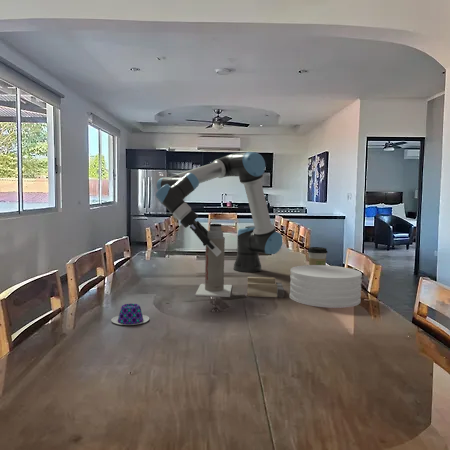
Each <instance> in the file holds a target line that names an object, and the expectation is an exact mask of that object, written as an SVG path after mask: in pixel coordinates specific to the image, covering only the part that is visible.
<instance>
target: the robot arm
mask: <svg viewBox="0 0 450 450" xmlns="http://www.w3.org/2000/svg"><path fill="white" fill-rule="evenodd" d="M265 171H266V161H265V159H264V157H263V156H262V154H260V153H258V152H256V151H246V152H236V153H235V152H234V153H230V154H227V155H225V156H222V157H220V158H217V159H215V160H213V161H212V162H211V163H208V164H205V165H202V166H199V167H196V168H193V169H189V170H186V171H183V172H180V173H177V174H174V175H170V176H168V177H166V176H164V177H161V178H159V179H157V182H156V189H157V191H156V193H155V198H156V199H157V200H158V201H159V202H160V204H162V205H163V206H164V207H165V209H166V210H167V211H169V213H171V214H172V215H173V219H176V220H177V221H179V223H180V224H181V225H182V226H183V227H184V229H185V228H188V227H189V229H191V230H192V231H193V233H194V234H195V235H196V237H197V238H198V239H199V240H200V242H202V245H203V247H206V246H207V247H208V248H209V249H210V250H211V251H212V252H213V253H214V254H215V255H216V256H218V255H219V254H220V253H221V251H220V249H219V248H218V247H217V246H216V245H215V244H214V243H213V242H212V241H210V239H209V238H208V237H207V236H208V234H207V233H208V231H209V230H208V229H206V227H204V226H203V224H201V222H199V220H197V219H198V217H199V215H198V214H197V213H196V212H195V211H194V210H192V207H191V206H190V205H189V204H188V203H187V201H185V200H184V199H185V198H187V197H188V196H189V195H190V194H191V193H193V192H194V191H195V190H196V189H197V188H198V187H199V185H200V184H202V183H205V182H208V181H210V180H211V181H212V180H214V179H217V178H218V179H223V178H226V177H238V178H239V182H240V183H241V185H243V186H244V190H245V192H246V193H245V194H246V197H247V202H248V206H249V209H250V213H251V218H252V222H253V226H254V227H241V228H239V229H238V230H237V246H236V247H237V252H236V253H237V254H236V258H235V261H234V263H233V270H235V271H237V272H245V273H249V272H250V273H254V272H256V273H257V272H261V271H262V263H261V260H260V256H259V254H260V253H261V254H265V255H275V254H277V253H278V252H279V251H280V250H281V249H282V246H283V240H284V239H283V236H282V234H281V233H280V232H278V231H277V230H276V226H275V225H274V224H273V223H272V221H271V218H270V213H269V209H268V205H267V201H266V197H265V196H266V195H265V192H264V189H263V188H264V187H263V184H262V179H263V178H264V175H263V174H264V173H265ZM196 220H197V221H196ZM209 241H210V242H209Z"/></svg>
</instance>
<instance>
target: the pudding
mask: <svg viewBox="0 0 450 450" xmlns="http://www.w3.org/2000/svg"><path fill="white" fill-rule="evenodd" d="M149 320H150V317H149V316H148V315H146V314H143V312H142V309H141V306H140V304H137V303H125V304H122V305H121V307H120V311H119V315H116V316H114V317H112V318H111V320H110V321H111V322H112V323H113V324H116V325H120V326H127V325H130V326H134V325H135V326H136V325H141V324H145V323H147V322H148V321H149Z"/></svg>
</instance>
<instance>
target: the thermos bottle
mask: <svg viewBox="0 0 450 450" xmlns="http://www.w3.org/2000/svg"><path fill="white" fill-rule="evenodd" d="M207 234H208V236H207V237H208V238H209V239H210V241H212V242H213V243H214V244H215V245H216V246H217V247H218V248H219V249H220V251H221V253H220V254H219V255H218V256H216V255H215V254H214V253H213V252H212V251H211V250H210V249H209V248H208V247H207V246H206V245H205V261H204V262H205V269H204V277H205V278H204V284H205V290H207V291H222V290H224V285H225V244H226V243H225V240H226V239H225V238H226V237H225V236H224V231H222V224H221V223H210V224H209V230H208V233H207ZM210 241H209V242H210Z"/></svg>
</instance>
